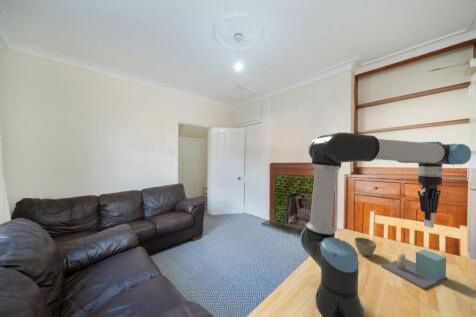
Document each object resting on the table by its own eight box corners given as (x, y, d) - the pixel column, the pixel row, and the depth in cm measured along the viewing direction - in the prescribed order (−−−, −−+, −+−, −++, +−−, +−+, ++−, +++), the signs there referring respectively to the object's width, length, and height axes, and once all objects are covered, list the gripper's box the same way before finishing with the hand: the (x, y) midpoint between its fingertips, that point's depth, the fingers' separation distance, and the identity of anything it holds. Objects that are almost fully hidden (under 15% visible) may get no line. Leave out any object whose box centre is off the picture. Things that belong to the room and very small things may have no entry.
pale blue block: (436, 281, 78) (437, 260, 78) (415, 270, 84) (415, 252, 84) (445, 277, 80) (446, 257, 80) (424, 267, 87) (424, 249, 87)
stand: (423, 289, 74) (424, 269, 74) (381, 266, 89) (381, 250, 89) (447, 279, 80) (448, 260, 80) (404, 259, 95) (404, 244, 95)
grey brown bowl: (376, 261, 94) (376, 247, 94) (353, 254, 100) (353, 242, 100) (376, 253, 102) (376, 240, 101) (355, 247, 108) (355, 235, 108)
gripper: (432, 177, 76) (431, 231, 77) (449, 175, 80) (448, 227, 81) (410, 175, 83) (409, 225, 84) (427, 174, 88) (426, 222, 88)
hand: (428, 226), depth 82 cm, fingers closed
